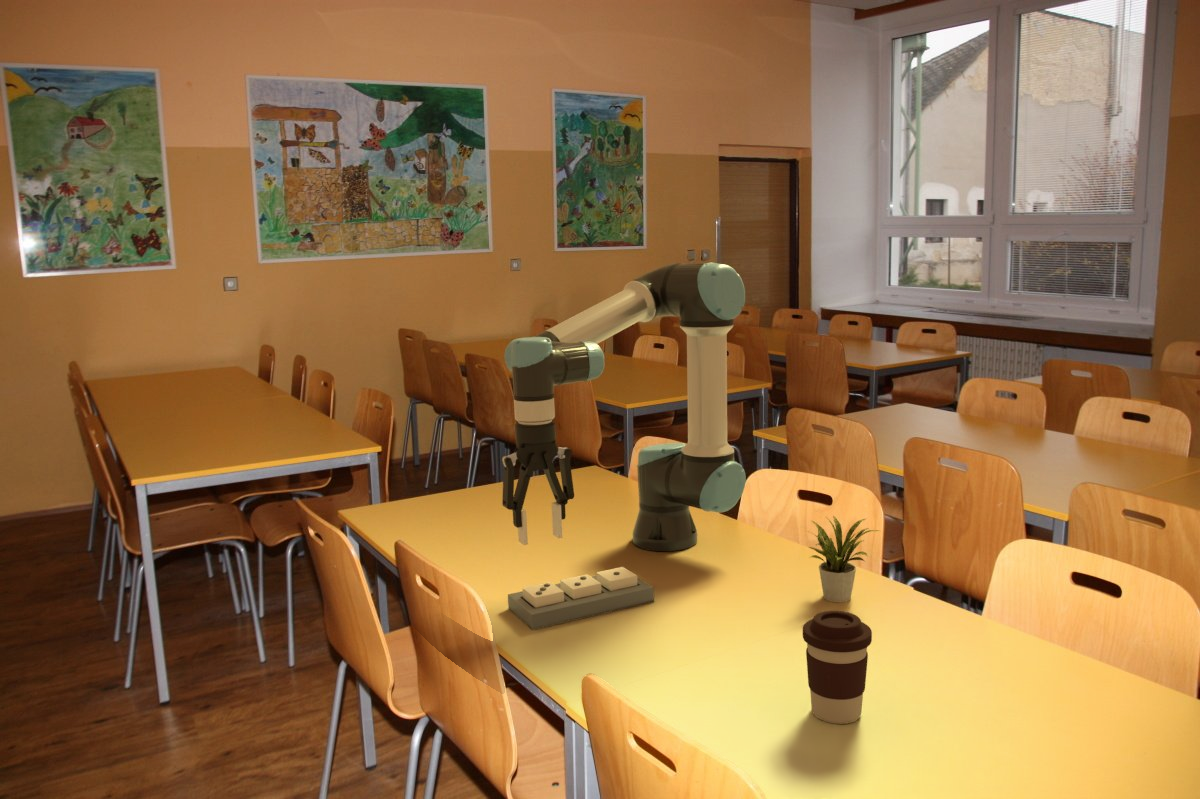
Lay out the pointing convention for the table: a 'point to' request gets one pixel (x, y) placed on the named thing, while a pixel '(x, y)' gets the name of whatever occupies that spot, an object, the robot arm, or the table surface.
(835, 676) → the coffee cup
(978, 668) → the table surface
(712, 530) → the table surface
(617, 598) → the keypad
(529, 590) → the key three
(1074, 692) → the table surface
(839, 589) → the house plant
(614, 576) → the key one
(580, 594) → the key two
